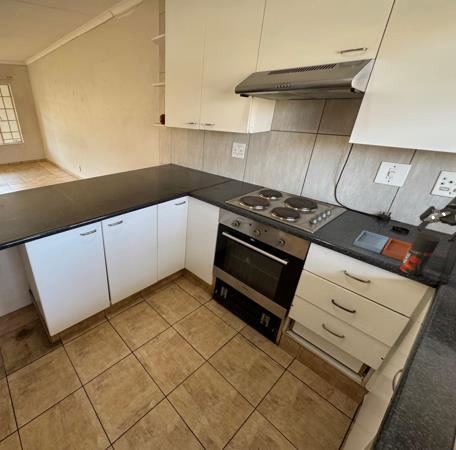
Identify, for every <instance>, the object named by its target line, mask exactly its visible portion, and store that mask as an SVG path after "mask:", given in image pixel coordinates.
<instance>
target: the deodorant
mask: <svg viewBox="0 0 456 450" xmlns="http://www.w3.org/2000/svg"><path fill="white" fill-rule="evenodd" d="M440 242H441V239H440V238H439V237H438V236H436V235H432V234H429V233H423V232H420V233H417V234H416V236H415V238H414V240H413V242H412V243H411V244H412V245H411V247H410V249H409V251H408V253H407V255H406V256H405V258H404V260H403V261H402V262H401V264H400V266H399V270H401V271H402V272H404V273H406V274H408V275H411V276H420V275H421V274H422V272H423V270H424V268H426V265H427V264H428V262H429V260H430V259H431V257H432V256H433V254H434V252H435V250H436V248H437V247H438V245H439V243H440Z"/></svg>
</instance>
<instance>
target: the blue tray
mask: <svg viewBox="0 0 456 450" xmlns="http://www.w3.org/2000/svg"><path fill="white" fill-rule="evenodd" d="M389 240H390V237H389V236H385V235H382V234H378V233H375V232H371V231H367V230H362V232H361V233H360V234H359V235H358V236H357V237H356V239H355V240H354V242H353V244H352V245H353V246H356V247H359V248H362V249H366V250H369V251H372V252H374V253H377V254H382V252H383V250H384V248H385V247H386V245H387V243H388V242H389Z"/></svg>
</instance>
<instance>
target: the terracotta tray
mask: <svg viewBox="0 0 456 450" xmlns="http://www.w3.org/2000/svg"><path fill="white" fill-rule="evenodd" d="M411 245H412V243H410V242H405V241H403V240H399V239H396V238H392V237H390V238H389V240H388V242H387V243H386V245H385V246H384V248H383V249H382V251H381V255H383V256H387V257H388V258H389V257H390V258H393V259H396V260H399V261H402V262H403V260H404V258H405V256H406V255H407V253H408V251H409V249H410V247H411Z"/></svg>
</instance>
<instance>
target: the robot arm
mask: <svg viewBox="0 0 456 450" xmlns="http://www.w3.org/2000/svg"><path fill="white" fill-rule="evenodd" d="M436 213H437V214H436ZM431 215H432V216H431ZM419 221H420V224H418V225H417V231H418V232H420V233H422V232H423V230H425V229H426V227H428V225H430V224H437V223H441V224H444V225H448V226H449V227H456V196H454V197H453V198H452V199H451V200H450V201H449V202H448V203H447V204H445V206H444V207H443V208H441V209H440V208H436V207H435V205H430V206H429V207H428V208H427V209H426V210H425V211H424V212H422V213H421V214H420V215H419ZM447 242H448V243H452V242H453V243H455V242H456V231H455V232H454V233H452V234H451V235H450V236H449V238H447Z"/></svg>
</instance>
